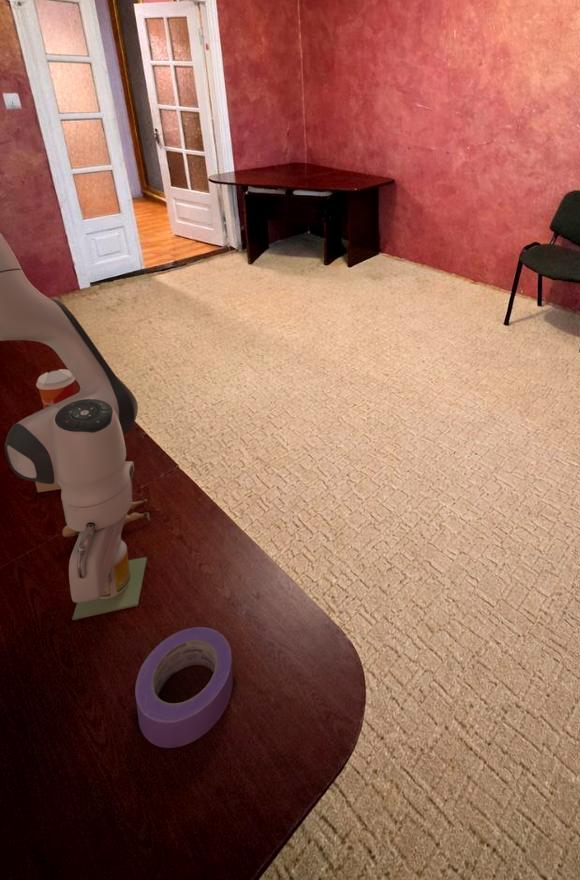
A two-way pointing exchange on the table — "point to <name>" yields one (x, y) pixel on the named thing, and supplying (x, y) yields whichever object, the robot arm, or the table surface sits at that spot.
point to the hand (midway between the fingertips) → (109, 568)
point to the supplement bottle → (118, 571)
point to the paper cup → (56, 386)
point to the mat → (122, 600)
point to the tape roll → (196, 714)
